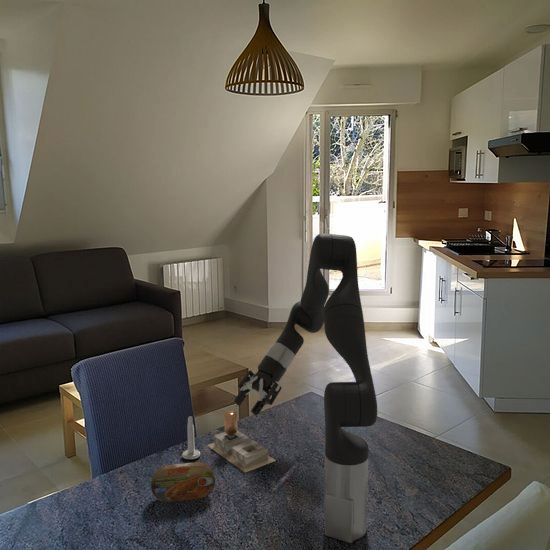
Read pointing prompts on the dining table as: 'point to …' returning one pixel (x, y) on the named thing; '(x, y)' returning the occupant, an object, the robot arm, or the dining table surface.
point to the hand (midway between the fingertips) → (244, 408)
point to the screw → (190, 442)
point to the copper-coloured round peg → (230, 424)
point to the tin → (183, 482)
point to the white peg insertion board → (241, 451)
